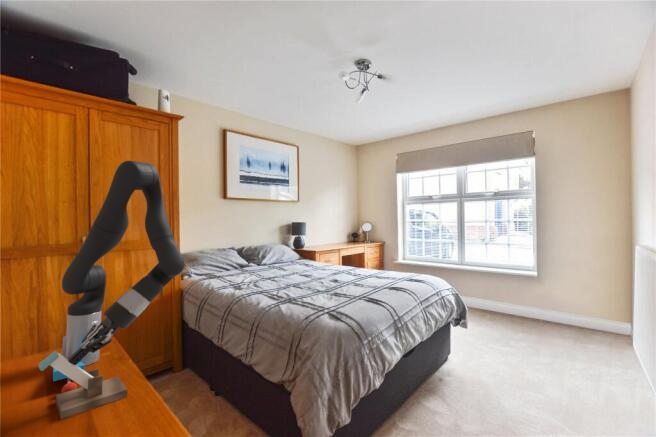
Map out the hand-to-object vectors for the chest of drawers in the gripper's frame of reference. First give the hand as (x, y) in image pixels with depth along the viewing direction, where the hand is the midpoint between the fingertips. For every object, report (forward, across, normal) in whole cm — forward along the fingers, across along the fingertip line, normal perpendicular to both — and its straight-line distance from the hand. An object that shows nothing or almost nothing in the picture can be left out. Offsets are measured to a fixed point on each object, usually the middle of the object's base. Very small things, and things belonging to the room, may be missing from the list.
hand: (71, 362), depth 79 cm
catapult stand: (+5, 0, +12) cm, 13 cm away
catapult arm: (+2, 0, +9) cm, 9 cm away
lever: (+7, -15, +10) cm, 20 cm away
